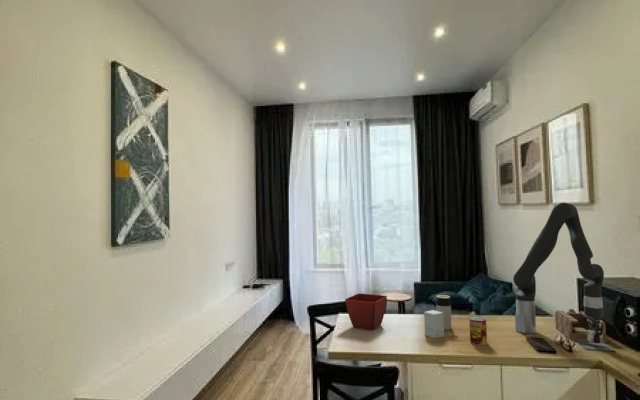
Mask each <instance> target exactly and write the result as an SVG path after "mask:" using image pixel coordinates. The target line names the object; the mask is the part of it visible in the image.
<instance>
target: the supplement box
mask: <svg viewBox="0 0 640 400" xmlns="http://www.w3.org/2000/svg"><path fill="white" fill-rule="evenodd" d="M423 314H424V315H423V316H424V317H423V318H424V320H423V321H424V336H427V337H430V338H433V339H438V338H442V337H445V330H444V319H443V312H439V311H436V310H434V309H432V310H426V311H424V312H423Z"/></svg>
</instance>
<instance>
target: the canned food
mask: <svg viewBox="0 0 640 400" xmlns="http://www.w3.org/2000/svg"><path fill="white" fill-rule="evenodd" d="M468 321H469V340H470V341H469V342H470V343H471V344H473V345H477V346H485V345H487V344H488V337H487V336H488V335H487V318H486V317H483V316H476V315H475V316H470V317H468Z"/></svg>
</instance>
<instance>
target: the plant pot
mask: <svg viewBox="0 0 640 400" xmlns="http://www.w3.org/2000/svg"><path fill="white" fill-rule="evenodd" d="M387 300H388V296H387V295H381V294H373V293H372V294H370V293H356V294H354V295H351V296H349V297H347V298H345V299H344V302H345V305H346V310H347V313H348V317H349V320H350V322H351V325H352V326H353V328H354V327H356V329H361V328H362V330H369V331H370V330H371V331H374V330H375V329H377V328H378V327H380V326H381V325H382V323H383V319H384V316H385V312H386V306H387Z"/></svg>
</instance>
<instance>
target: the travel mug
mask: <svg viewBox="0 0 640 400" xmlns="http://www.w3.org/2000/svg"><path fill="white" fill-rule="evenodd" d="M450 298H451V296H450V295H448V294H447V295H446V294H438V295H436V302H435V303H436V304H435V306H436V307H435V308H436V310H435V311H439V312H443V319H444V331H446V330H447V331H449V330H451V329H452V301H451V300H450Z"/></svg>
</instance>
